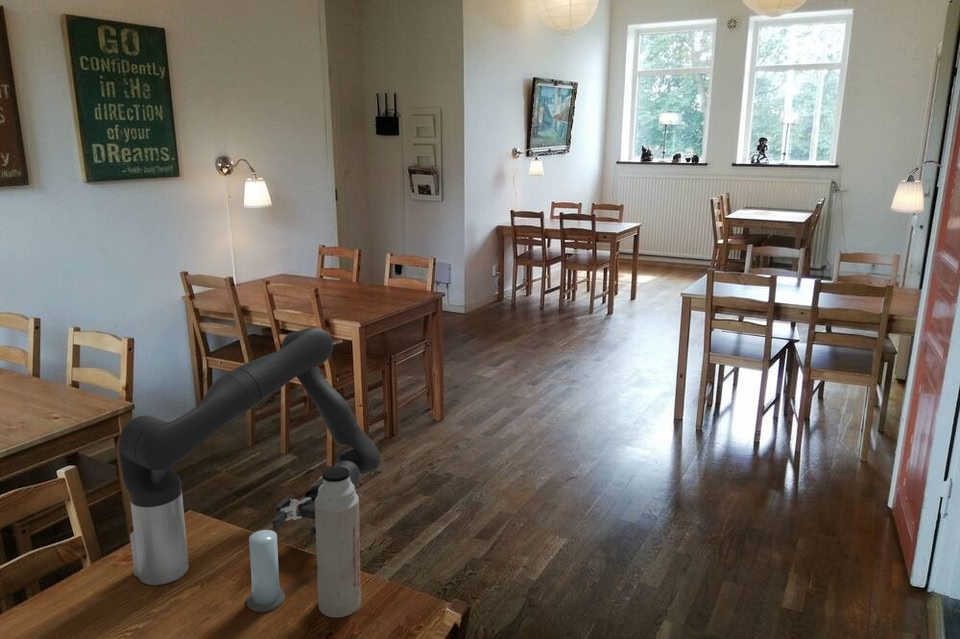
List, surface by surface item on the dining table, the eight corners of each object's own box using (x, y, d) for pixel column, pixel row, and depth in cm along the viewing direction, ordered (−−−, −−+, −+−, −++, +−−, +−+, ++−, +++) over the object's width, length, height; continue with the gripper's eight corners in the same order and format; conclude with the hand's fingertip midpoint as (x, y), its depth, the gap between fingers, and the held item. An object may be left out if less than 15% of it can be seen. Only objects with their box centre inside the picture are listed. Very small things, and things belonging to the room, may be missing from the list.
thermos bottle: (366, 594, 133) (364, 464, 126) (351, 620, 126) (348, 484, 119) (328, 587, 135) (324, 459, 128) (311, 614, 127) (306, 478, 120)
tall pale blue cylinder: (247, 602, 129) (243, 542, 126) (261, 586, 134) (258, 528, 130) (270, 607, 128) (267, 546, 124) (284, 591, 132) (281, 532, 129)
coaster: (239, 608, 128) (239, 605, 128) (259, 585, 135) (259, 583, 135) (272, 615, 127) (272, 612, 126) (291, 592, 133) (291, 589, 133)
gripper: (300, 472, 155) (261, 507, 140) (358, 481, 151) (324, 518, 136) (301, 501, 157) (263, 539, 141) (358, 511, 153) (325, 551, 138)
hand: (293, 529), depth 139 cm, fingers open, 8 cm apart
